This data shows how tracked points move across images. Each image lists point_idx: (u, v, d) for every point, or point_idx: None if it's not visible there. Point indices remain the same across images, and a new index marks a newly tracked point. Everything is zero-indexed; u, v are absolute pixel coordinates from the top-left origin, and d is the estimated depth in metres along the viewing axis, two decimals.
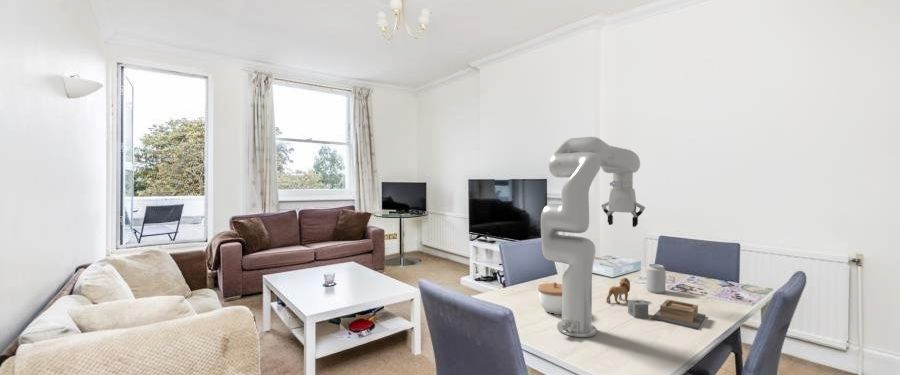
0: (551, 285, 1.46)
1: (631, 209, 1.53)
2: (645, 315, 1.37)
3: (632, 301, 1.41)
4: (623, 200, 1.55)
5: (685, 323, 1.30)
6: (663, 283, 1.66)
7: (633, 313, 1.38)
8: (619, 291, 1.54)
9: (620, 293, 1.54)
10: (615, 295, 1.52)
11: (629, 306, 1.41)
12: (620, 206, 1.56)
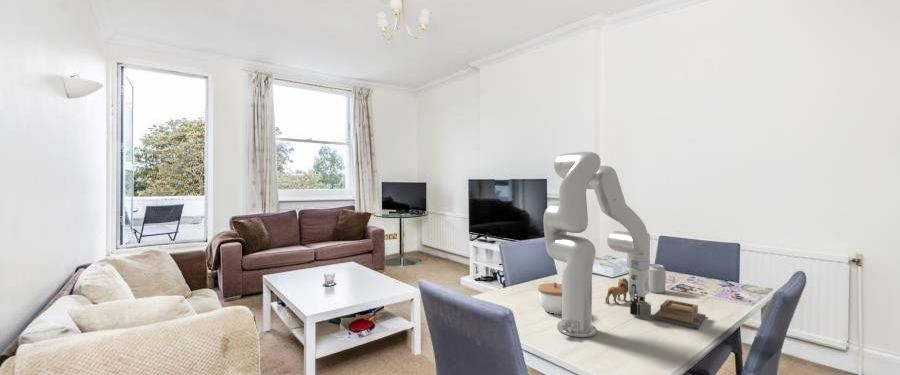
0: (551, 285, 1.46)
1: None
2: (648, 316, 1.36)
3: None
4: (647, 281, 1.39)
5: (685, 323, 1.30)
6: (663, 283, 1.66)
7: None
8: (618, 291, 1.53)
9: (619, 293, 1.54)
10: (614, 295, 1.52)
11: None
12: (646, 289, 1.38)
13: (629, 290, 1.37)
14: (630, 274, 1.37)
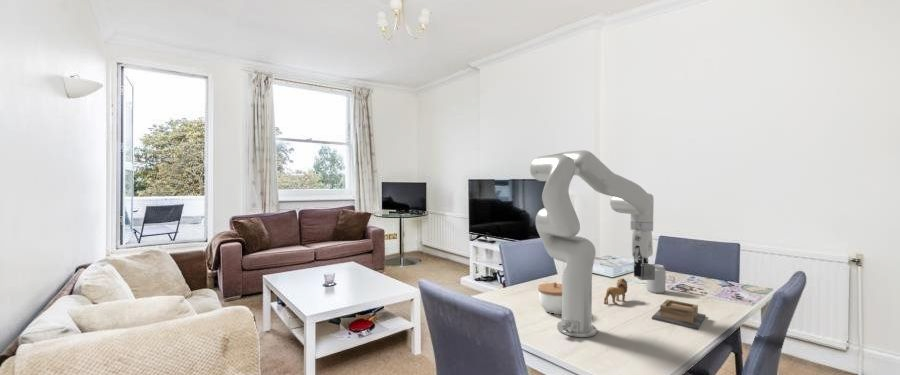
0: (551, 285, 1.46)
1: (652, 251, 1.41)
2: (652, 277, 1.36)
3: None
4: (650, 243, 1.38)
5: (685, 323, 1.30)
6: (663, 283, 1.66)
7: None
8: (617, 292, 1.53)
9: (618, 294, 1.53)
10: (613, 296, 1.51)
11: None
12: (649, 250, 1.37)
13: (633, 252, 1.36)
14: (634, 236, 1.37)
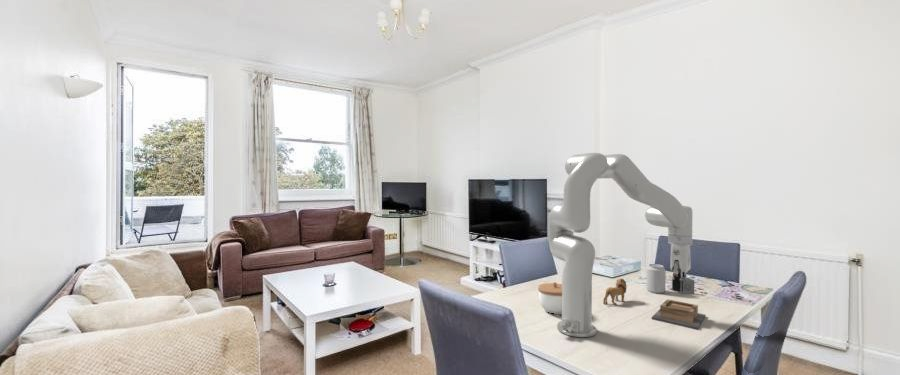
0: (551, 285, 1.46)
1: (690, 265, 1.38)
2: (691, 291, 1.33)
3: None
4: (689, 256, 1.35)
5: (685, 323, 1.30)
6: (663, 283, 1.66)
7: None
8: (616, 292, 1.52)
9: (617, 294, 1.53)
10: (612, 296, 1.51)
11: None
12: (688, 264, 1.35)
13: (671, 266, 1.34)
14: (672, 249, 1.34)
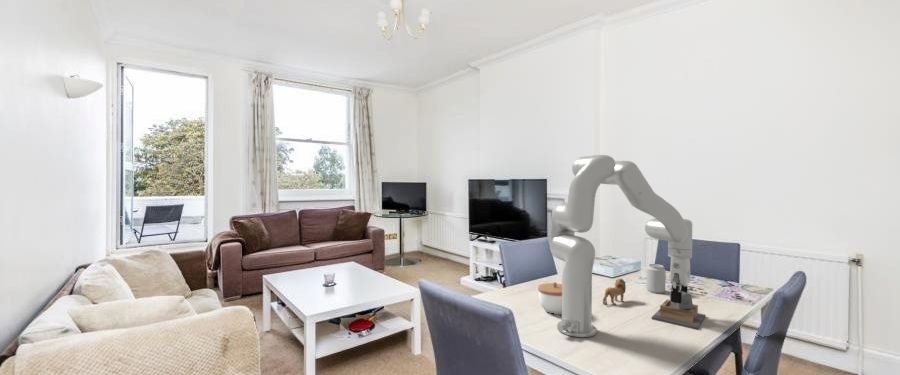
0: (551, 285, 1.46)
1: (690, 278, 1.38)
2: (690, 306, 1.34)
3: None
4: (689, 270, 1.36)
5: (685, 323, 1.30)
6: (663, 283, 1.66)
7: (677, 305, 1.35)
8: (615, 292, 1.52)
9: (616, 294, 1.53)
10: (611, 296, 1.51)
11: None
12: (688, 278, 1.35)
13: (671, 279, 1.34)
14: (672, 263, 1.34)
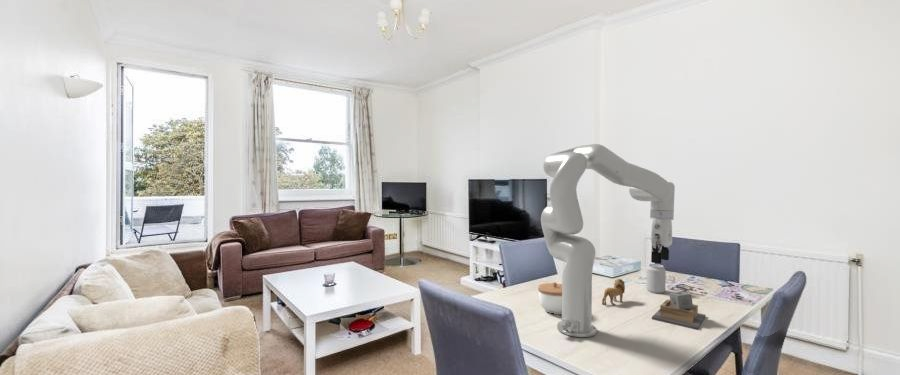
0: (551, 285, 1.46)
1: None
2: (690, 306, 1.34)
3: (674, 293, 1.37)
4: (670, 232, 1.37)
5: (685, 323, 1.30)
6: (663, 283, 1.66)
7: (677, 305, 1.35)
8: (614, 292, 1.52)
9: (615, 294, 1.52)
10: (611, 297, 1.51)
11: (671, 299, 1.38)
12: (669, 239, 1.36)
13: (652, 240, 1.36)
14: (653, 224, 1.36)
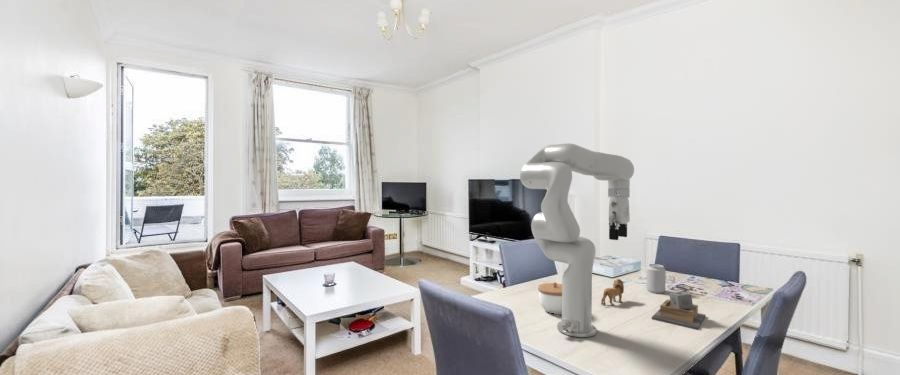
0: (551, 285, 1.46)
1: (629, 218, 1.44)
2: (690, 306, 1.34)
3: (674, 293, 1.37)
4: (627, 209, 1.42)
5: (685, 323, 1.30)
6: (663, 283, 1.66)
7: (677, 305, 1.35)
8: (614, 293, 1.51)
9: (614, 295, 1.52)
10: (610, 297, 1.50)
11: (671, 299, 1.38)
12: (626, 217, 1.41)
13: None
14: (610, 202, 1.41)
